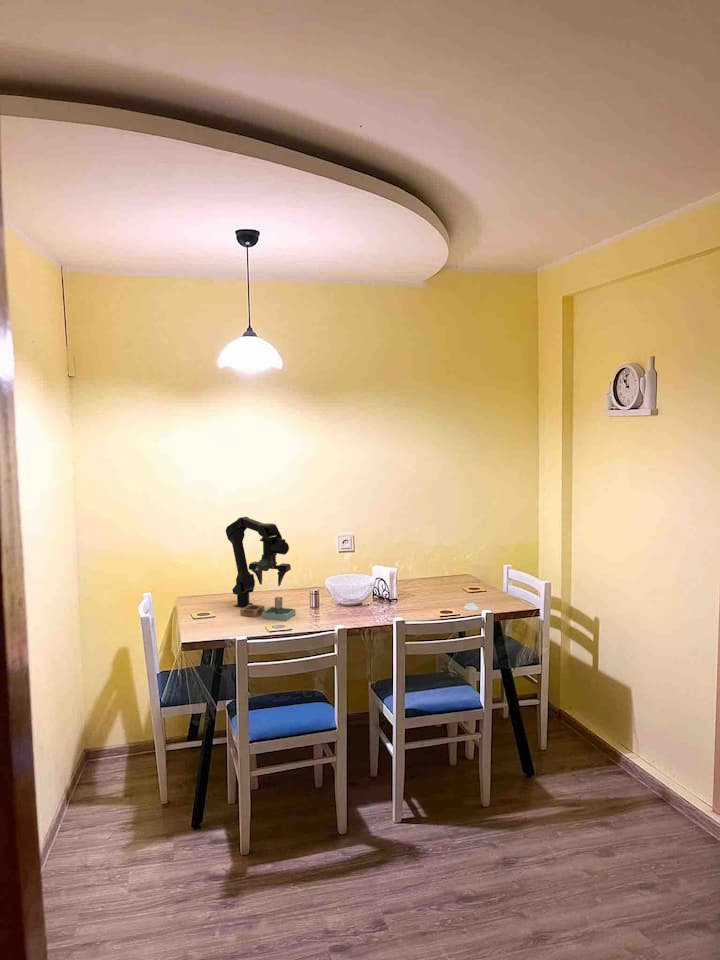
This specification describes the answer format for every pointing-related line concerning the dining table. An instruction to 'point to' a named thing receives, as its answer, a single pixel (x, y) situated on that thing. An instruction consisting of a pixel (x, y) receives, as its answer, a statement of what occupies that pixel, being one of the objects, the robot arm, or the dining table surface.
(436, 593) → the dining table surface
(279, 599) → the pin
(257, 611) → the socket block
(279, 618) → the tray
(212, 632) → the dining table surface
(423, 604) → the dining table surface
